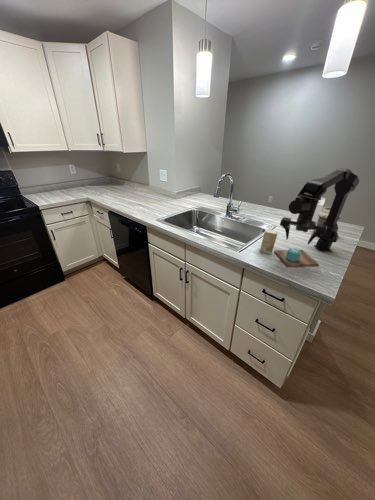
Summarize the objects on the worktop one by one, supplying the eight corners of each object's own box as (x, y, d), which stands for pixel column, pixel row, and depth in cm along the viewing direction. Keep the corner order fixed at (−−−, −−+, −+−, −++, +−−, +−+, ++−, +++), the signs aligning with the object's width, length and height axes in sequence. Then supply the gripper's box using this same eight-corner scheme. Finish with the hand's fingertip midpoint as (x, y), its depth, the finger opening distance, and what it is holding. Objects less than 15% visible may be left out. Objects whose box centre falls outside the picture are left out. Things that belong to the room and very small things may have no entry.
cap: (283, 256, 102) (285, 248, 99) (292, 254, 104) (294, 246, 101) (292, 262, 97) (295, 254, 95) (301, 259, 99) (303, 252, 97)
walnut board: (301, 251, 110) (302, 249, 109) (318, 265, 98) (318, 263, 97) (273, 252, 109) (274, 250, 108) (286, 266, 97) (287, 264, 96)
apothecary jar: (322, 231, 135) (332, 205, 126) (337, 239, 125) (349, 211, 116) (306, 232, 133) (315, 206, 124) (320, 240, 123) (330, 212, 114)
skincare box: (259, 252, 108) (264, 231, 102) (260, 248, 112) (264, 228, 106) (272, 254, 107) (277, 233, 101) (272, 250, 110) (277, 230, 104)
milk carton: (306, 220, 153) (314, 195, 143) (317, 222, 149) (326, 197, 140) (305, 223, 147) (313, 197, 138) (316, 225, 144) (325, 199, 135)
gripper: (282, 211, 86) (273, 243, 94) (332, 220, 78) (319, 254, 86) (286, 205, 94) (277, 235, 102) (332, 212, 86) (319, 244, 94)
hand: (297, 241), depth 96 cm, fingers open, 9 cm apart
